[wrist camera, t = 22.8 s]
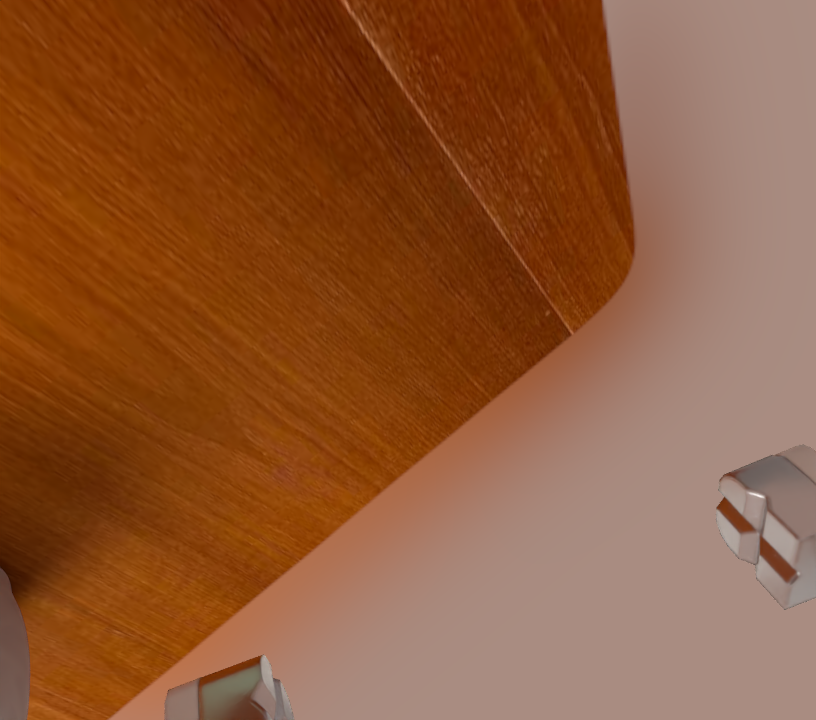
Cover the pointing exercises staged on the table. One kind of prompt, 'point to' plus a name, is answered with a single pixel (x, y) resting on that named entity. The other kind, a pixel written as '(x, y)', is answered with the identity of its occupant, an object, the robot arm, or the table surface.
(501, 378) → the table surface
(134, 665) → the table surface
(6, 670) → the mug
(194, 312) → the table surface
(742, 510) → the robot arm
